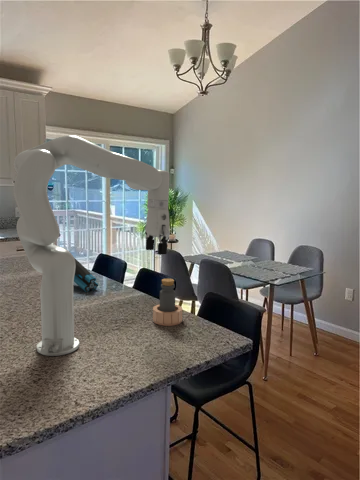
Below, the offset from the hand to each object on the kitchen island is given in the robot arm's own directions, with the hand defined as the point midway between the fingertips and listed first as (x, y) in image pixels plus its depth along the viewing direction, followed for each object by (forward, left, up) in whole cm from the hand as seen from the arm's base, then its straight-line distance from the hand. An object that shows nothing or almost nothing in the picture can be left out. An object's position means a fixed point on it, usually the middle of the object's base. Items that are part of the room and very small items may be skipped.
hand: (155, 251), depth 136 cm
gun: (+48, +40, -27) cm, 68 cm away
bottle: (+1, -5, -26) cm, 26 cm away
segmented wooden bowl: (+1, -5, -26) cm, 27 cm away
